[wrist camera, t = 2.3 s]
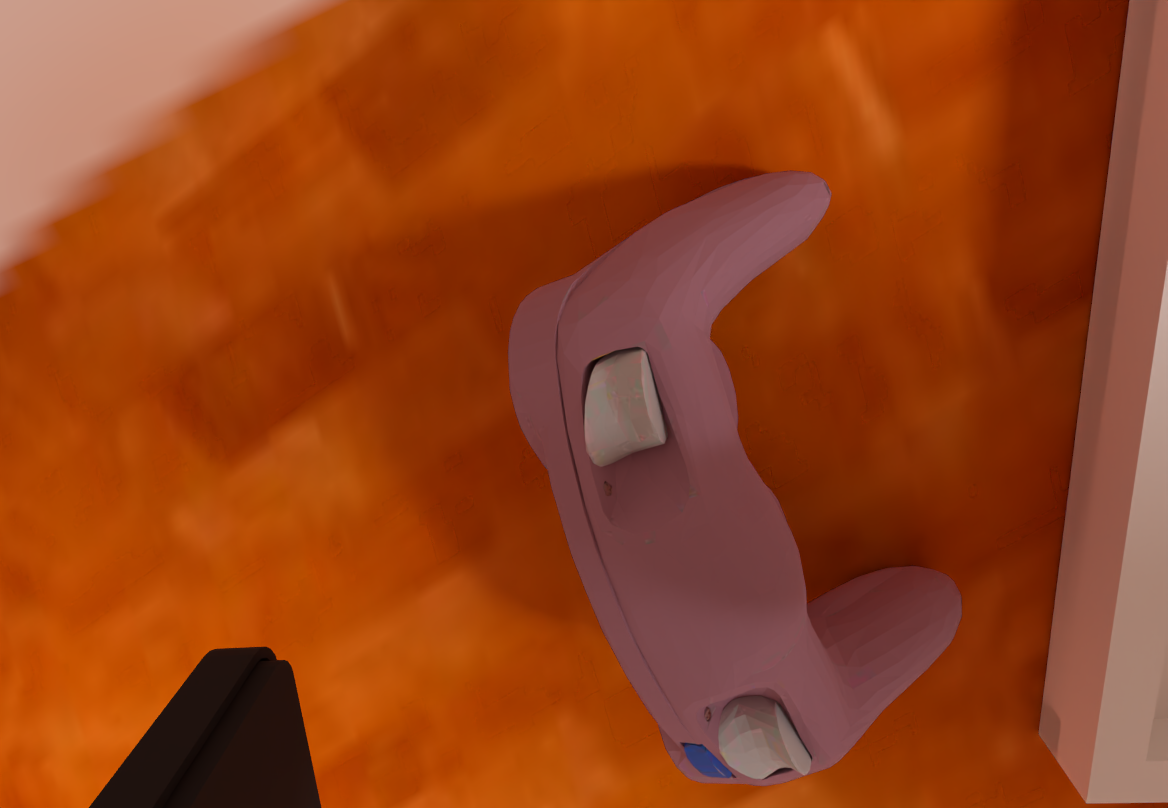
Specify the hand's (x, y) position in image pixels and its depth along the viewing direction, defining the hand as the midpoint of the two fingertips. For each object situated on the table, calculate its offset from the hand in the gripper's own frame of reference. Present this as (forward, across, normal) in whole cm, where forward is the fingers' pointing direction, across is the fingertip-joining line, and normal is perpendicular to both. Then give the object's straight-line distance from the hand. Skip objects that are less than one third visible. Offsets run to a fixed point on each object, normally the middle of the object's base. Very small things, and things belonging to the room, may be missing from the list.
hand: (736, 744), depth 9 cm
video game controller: (+9, -1, 0) cm, 9 cm away
